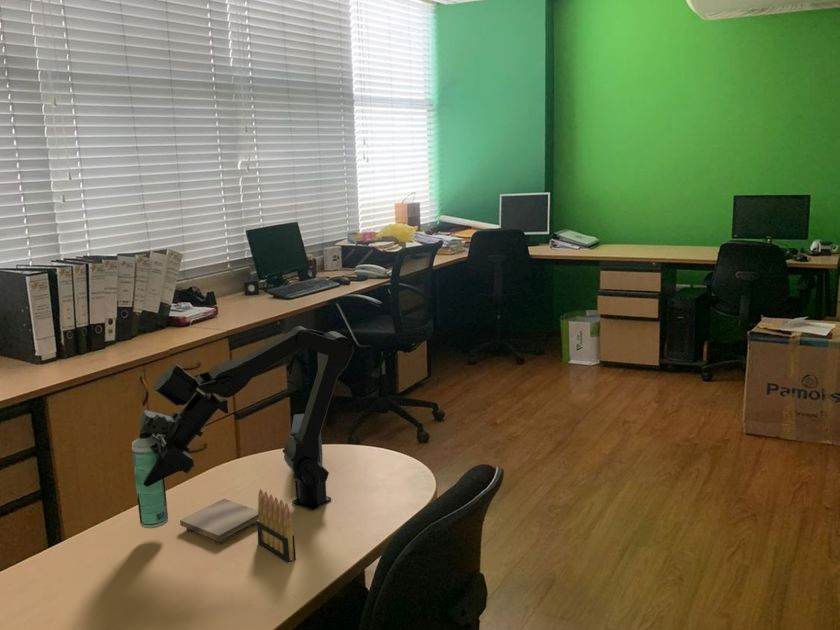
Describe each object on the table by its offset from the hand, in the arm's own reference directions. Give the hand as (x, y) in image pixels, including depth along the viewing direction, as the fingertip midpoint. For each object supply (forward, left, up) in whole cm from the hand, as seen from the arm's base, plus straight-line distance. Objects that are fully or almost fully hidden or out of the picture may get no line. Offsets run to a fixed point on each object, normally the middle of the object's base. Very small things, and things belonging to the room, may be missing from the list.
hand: (142, 480), depth 157 cm
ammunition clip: (-26, -11, -13) cm, 31 cm away
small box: (-3, -45, -13) cm, 47 cm away
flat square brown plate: (-9, -12, -13) cm, 20 cm away
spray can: (-1, -1, -10) cm, 10 cm away
